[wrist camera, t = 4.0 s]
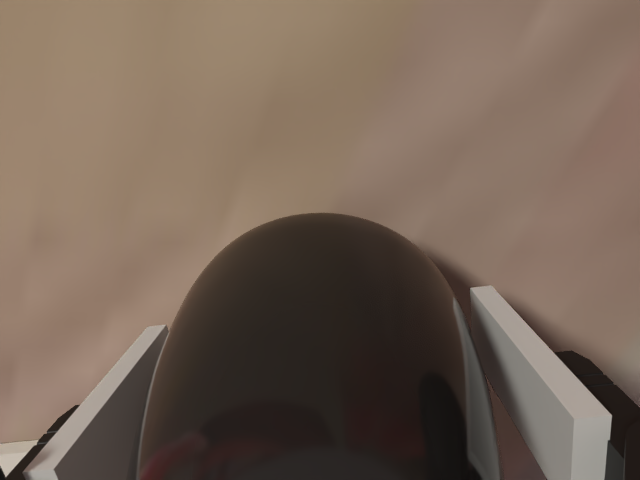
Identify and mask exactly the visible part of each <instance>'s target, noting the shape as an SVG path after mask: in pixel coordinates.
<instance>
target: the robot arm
mask: <svg viewBox="0 0 640 480" xmlns="http://www.w3.org/2000/svg"><path fill="white" fill-rule="evenodd" d="M470 302H471V328H472V336H473V339H474V342H475V345H476V348H477V351H478V354H479V357H480V360H481V364H482V367H483V370H484V373H485V375H486V376H487V378H488V380H489V382H490V383H491V385H492V387H493V388H494V390H495V392H496V393H497V395H498V397H499V398H500V400H501V402H502V404H503V405H504V407H505V409H506V410H507V412H508V414H509V415H510V417H511V419H512V421H513V422H514V424H515V426H516V427H517V429H518V431H519V432H520V434H521V436H522V437H523V439H524V441H525V443H526V444H527V446H528V448H529V449H530V451H531V453H532V454H533V456H534V458H535V460H536V461H537V463H538V465H539V466H540V468H541V470H542V471H543V473H544V475H545V476H546V478H547V480H640V408H639V407H638V406H637V405H636V404H635V403H634V402H633V401H632V400H631V399H630V398H629V397H628V396H627V395H626V394H625V393H624V392H623V391H622V390H621V389H620V388H618V387H617V386H616V385H614V384H613V382H612V381H611V380H610V379H609V378H608V377H607V376H606V375H603V372H602V371H601V370H600V369H599V368H598V367H596V366H595V365H594V364H593V363H592V362H591V361H590V360H588V359H587V358H585V357H583V356H581V355H579V354H577V353H575V352H573V351H564V352H555V353H553V351H552V350H551V349H550V348H549V347H548V346H547V345H546V344H545V343H544V342H543V341H542V340H541V339H540V337H539V336H538V335H537V334H536V333H535V332H534V331H533V330H532V329H531V328H530V327H529V326H528V325H527V323H526V322H525V321H524V320H523V319H522V318H521V317H520V316H519V315H518V314H517V313H516V312H515V311H514V309H513V308H512V307H511V306H510V305H509V304H508V303H507V302H506V301H505V300H504V299H503V298H502V297H501V295H500V294H499V293H498V292H497V291H496V290H495V289H494V288H493V287H492V286H482V287H474V288H470ZM168 332H169V331H168V328H167V324H166V325H158V326H150V327H147V328H146V329H145V330H144V331H143V333H142V334H141V335H140V336H139V337H138V338H137V340H136V341H135V342H134V343H133V344H132V345H131V347H130V348H129V349H128V350H127V351H126V352H125V354H124V355H123V356H122V357H121V358H120V359H119V361H118V362H117V363H116V364H115V365H114V366H113V367H112V369H111V370H110V371H109V372H108V373H107V374H106V376H105V377H104V378H103V379H102V380H101V381H100V383H99V384H98V385H97V386H96V387H95V388H94V390H93V391H92V392H91V393H90V394H89V395H88V397H87V398H86V399H85V400H84V401H83V402H82V404H81V405H75V406H74V407H73V408H71V409H70V410H69V411H67V412H66V413H65V414H63V415H62V416H61V417H59V418H58V419H57V420H56V422H55V423H54V424H53V425H52V426H51V427H50V428H49V429H48V431H47V434H44V435H43V436H42V437H41V438H40V439H39V441H38V442H37V445H34V446H33V447H32V448H31V450H30V451H29V452H28V453H27V454H26V455H25V456H24V457H23V458H22V460H21V461H20V462H19V463H18V464H17V465H16V466H15V467H14V469H13V470H12V471H11V472H10V473H9V474H8V475H7V476H6V477H5V474H4V472H3V470H2V468H1V466H0V480H126V478H127V472H128V467H129V462H130V457H131V452H132V447H133V442H134V438H135V433H136V429H137V425H138V421H139V417H140V413H141V409H142V405H143V402H144V398H145V395H146V391H147V388H148V385H149V382H150V379H151V376H152V373H153V370H154V367H155V364H156V361H157V359H158V356H159V354H160V351H161V349H162V346H163V344H164V342H165V339H166V337H167V335H168Z"/></svg>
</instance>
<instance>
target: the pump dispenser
mask: <svg viewBox="0 0 640 480" xmlns="http://www.w3.org/2000/svg"><path fill="white" fill-rule="evenodd" d="M126 480H504V473H503V466H502V459H501V452H500V445H499V439H498V433H497V427H496V422H495V417H494V412H493V407H492V402H491V398H490V393H489V389H488V385H487V381H486V378H485V374H484V370H483V367H482V364H481V360H480V357H479V354H478V351H477V348H476V345H475V342H474V339H473V336H472V333H471V330H470V327H469V325H468V322H467V319H466V317H465V314H464V312H463V310H462V307H461V305H460V303H459V301H458V299H457V297H456V295H455V293H454V292H453V290H452V288H451V286H450V285H449V283H448V282H447V280H446V279H445V277H444V276H443V274H442V273H441V271H440V270H439V269H438V267H437V266H436V265H435V264H434V263H433V261H432V260H431V259H430V258H429V257H428V256H427V255H426V254H425V253H424V252H423V251H422V250H421V249H419V248H418V247H417V246H416V245H415V244H413V243H412V242H411V241H409V240H408V239H406V238H405V237H403V236H402V235H400V234H398V233H397V232H395V231H393V230H391V229H389V228H387V227H385V226H383V225H380V224H378V223H375V222H372V221H369V220H366V219H363V218H359V217H355V216H350V215H344V214H336V213H307V214H299V215H293V216H288V217H284V218H280V219H276V220H273V221H270V222H268V223H265V224H262V225H260V226H258V227H256V228H254V229H252V230H250V231H248V232H246V233H244V234H243V235H241V236H240V237H238V238H237V239H235V240H234V241H232V242H231V243H230V244H229V245H227V246H226V247H225V248H224V249H223V250H222V251H220V252H219V253H218V254H217V255H216V256H215V257H214V259H213V260H212V261H211V262H210V263H209V264H208V265H207V267H206V268H205V269H204V270H203V271H202V273H201V274H200V275H199V277H198V278H197V280H196V281H195V283H194V284H193V286H192V287H191V289H190V290H189V292H188V294H187V296H186V297H185V299H184V301H183V303H182V305H181V307H180V309H179V311H178V313H177V315H176V317H175V319H174V321H173V323H172V326H171V328H170V330H169V332H168V335H167V337H166V339H165V342H164V344H163V346H162V349H161V351H160V354H159V356H158V359H157V361H156V364H155V367H154V370H153V373H152V376H151V379H150V382H149V385H148V388H147V391H146V395H145V398H144V402H143V405H142V409H141V413H140V417H139V421H138V425H137V429H136V433H135V438H134V442H133V447H132V452H131V457H130V462H129V467H128V472H127V478H126Z"/></svg>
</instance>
